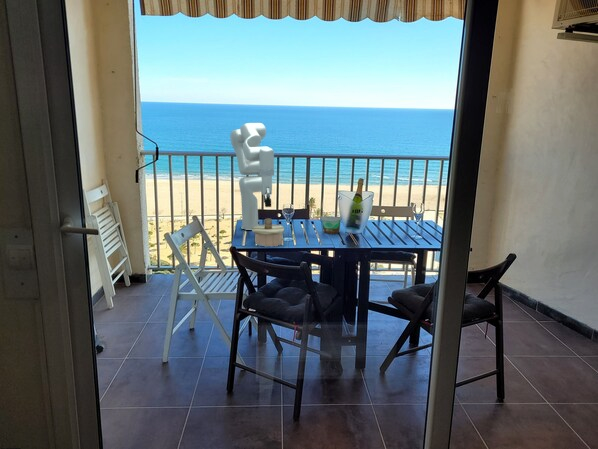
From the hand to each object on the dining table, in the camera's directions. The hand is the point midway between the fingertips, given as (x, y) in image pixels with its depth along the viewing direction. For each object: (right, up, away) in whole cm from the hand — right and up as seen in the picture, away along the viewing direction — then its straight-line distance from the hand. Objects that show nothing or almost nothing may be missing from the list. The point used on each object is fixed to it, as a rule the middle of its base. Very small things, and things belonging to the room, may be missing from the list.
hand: (267, 204), depth 232 cm
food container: (+35, -16, +23) cm, 45 cm away
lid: (0, -14, +3) cm, 14 cm away
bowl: (0, -20, +5) cm, 21 cm away
